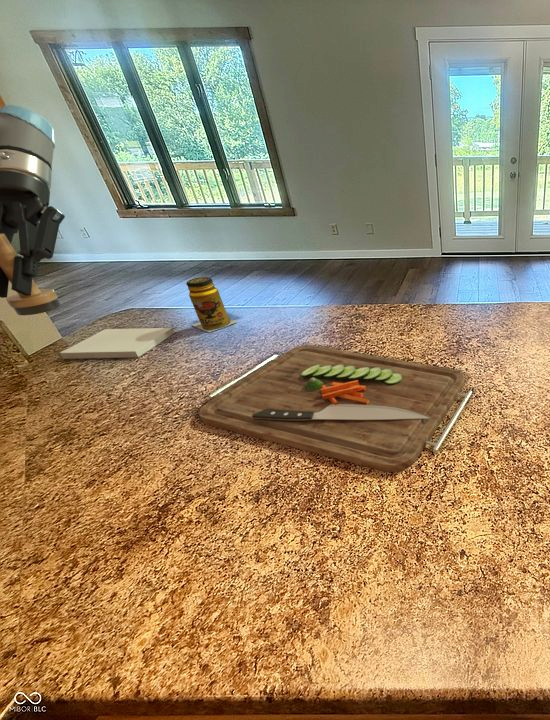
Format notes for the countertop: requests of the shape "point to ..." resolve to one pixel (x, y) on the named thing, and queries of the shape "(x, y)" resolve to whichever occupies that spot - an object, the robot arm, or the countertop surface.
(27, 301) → the brush
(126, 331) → the tile
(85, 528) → the countertop surface
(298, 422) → the chopping board
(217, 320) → the condiment
